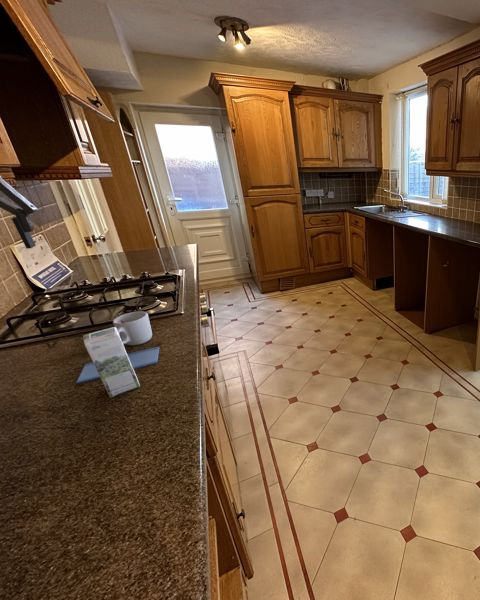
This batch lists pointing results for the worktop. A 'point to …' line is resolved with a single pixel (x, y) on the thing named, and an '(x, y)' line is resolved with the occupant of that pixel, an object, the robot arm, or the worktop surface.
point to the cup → (133, 327)
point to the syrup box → (111, 361)
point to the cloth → (135, 358)
